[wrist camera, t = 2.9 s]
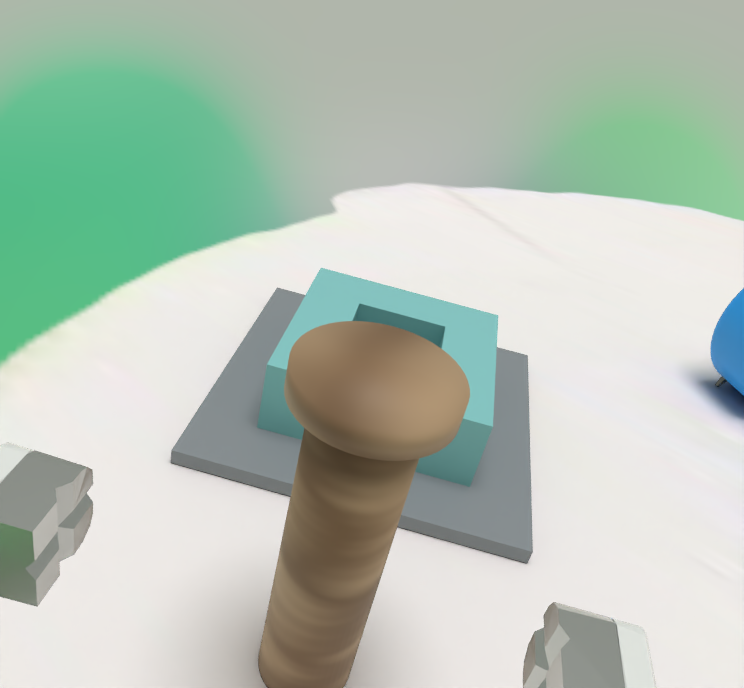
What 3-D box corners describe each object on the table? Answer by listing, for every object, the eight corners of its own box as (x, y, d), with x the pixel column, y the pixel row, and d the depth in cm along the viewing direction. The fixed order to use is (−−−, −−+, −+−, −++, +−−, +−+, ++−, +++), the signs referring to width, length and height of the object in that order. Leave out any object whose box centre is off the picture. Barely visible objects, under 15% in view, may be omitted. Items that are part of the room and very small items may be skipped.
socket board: (523, 365, 60) (547, 305, 57) (527, 563, 42) (562, 490, 39) (275, 297, 61) (285, 234, 58) (170, 462, 43) (176, 383, 40)
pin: (380, 623, 36) (474, 348, 27) (356, 746, 31) (464, 454, 22) (260, 588, 37) (314, 304, 28) (216, 704, 31) (264, 399, 22)
